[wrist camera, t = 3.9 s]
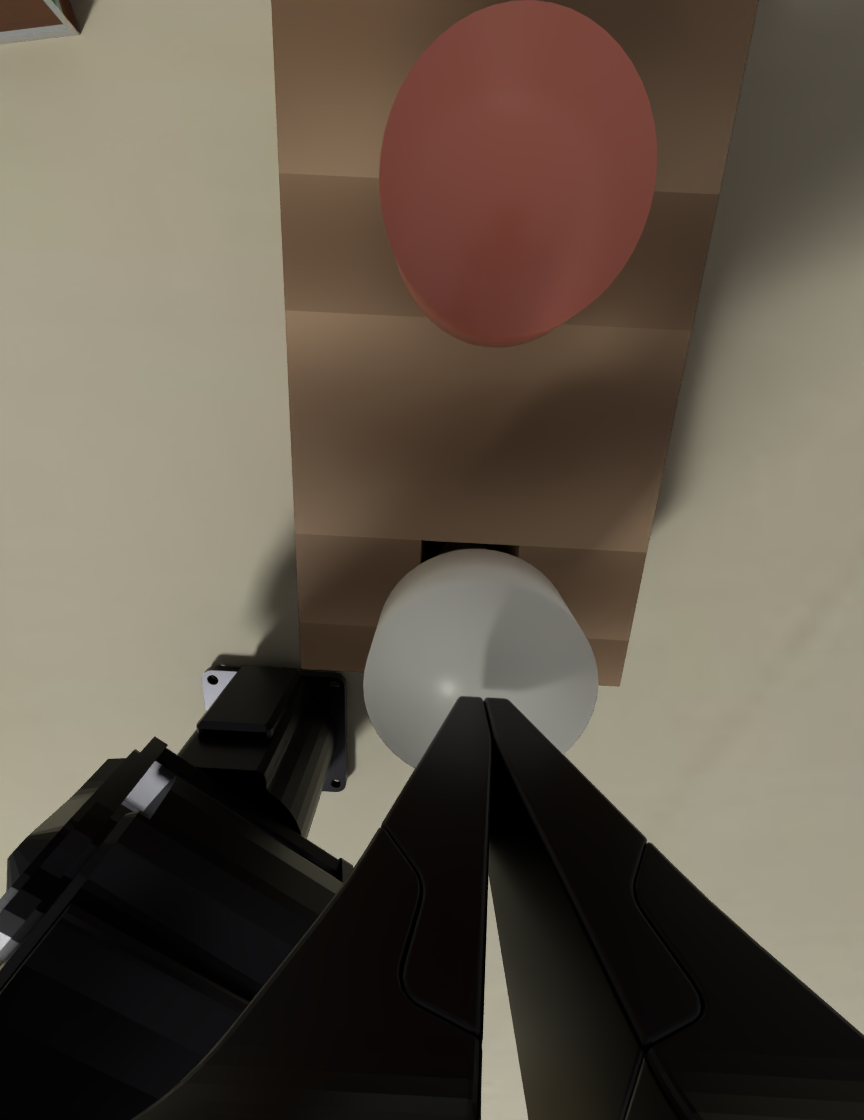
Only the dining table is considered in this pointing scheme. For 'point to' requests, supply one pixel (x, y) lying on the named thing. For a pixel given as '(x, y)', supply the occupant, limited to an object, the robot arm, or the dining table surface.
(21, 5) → the food container
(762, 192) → the dining table surface
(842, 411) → the dining table surface
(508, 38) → the salmon round-head knob
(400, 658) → the grey plug
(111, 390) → the dining table surface
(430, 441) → the walnut plug block
